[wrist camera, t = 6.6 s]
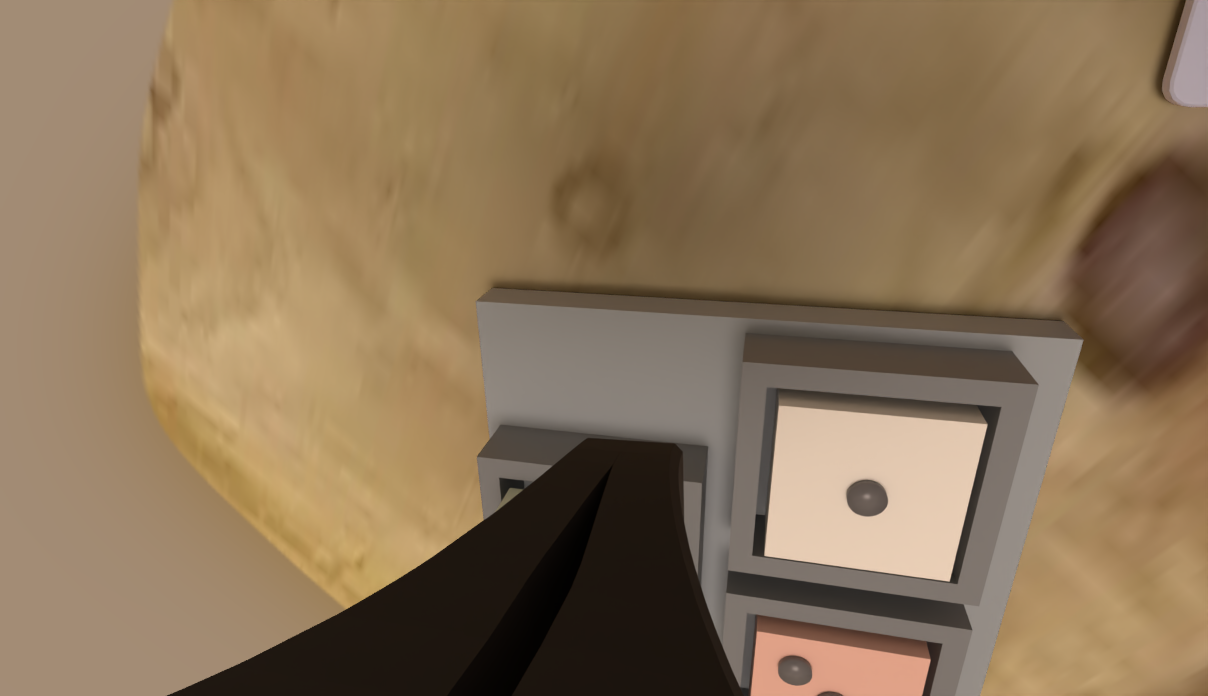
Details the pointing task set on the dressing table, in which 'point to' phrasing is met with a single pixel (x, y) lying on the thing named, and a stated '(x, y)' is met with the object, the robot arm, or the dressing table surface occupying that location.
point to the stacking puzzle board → (744, 440)
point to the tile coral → (833, 661)
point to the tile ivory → (871, 481)
